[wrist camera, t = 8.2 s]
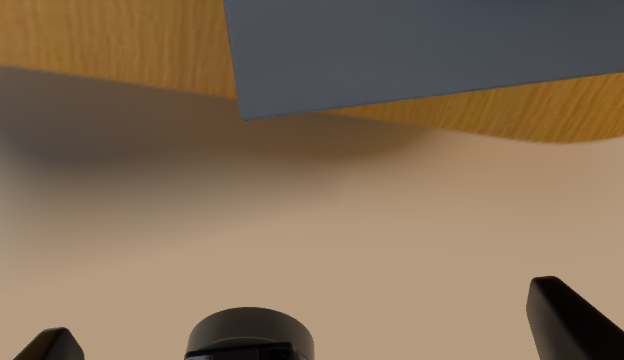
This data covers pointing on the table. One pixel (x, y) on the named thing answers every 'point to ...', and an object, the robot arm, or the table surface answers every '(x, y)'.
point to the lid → (411, 49)
